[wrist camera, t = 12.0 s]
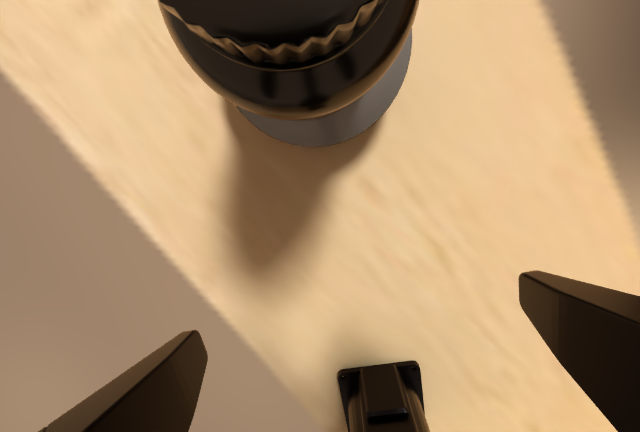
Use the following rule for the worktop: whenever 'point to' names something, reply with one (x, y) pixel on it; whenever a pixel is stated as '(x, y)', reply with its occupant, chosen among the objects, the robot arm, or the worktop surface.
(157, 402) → the robot arm
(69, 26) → the worktop surface
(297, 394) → the worktop surface
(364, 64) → the supplement bottle
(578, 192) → the worktop surface
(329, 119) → the stand
